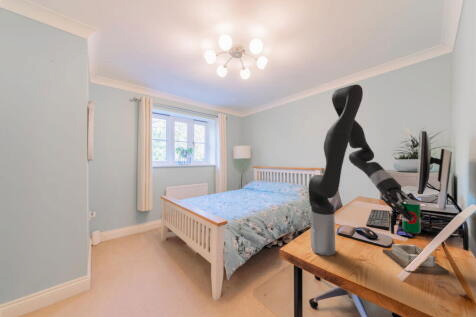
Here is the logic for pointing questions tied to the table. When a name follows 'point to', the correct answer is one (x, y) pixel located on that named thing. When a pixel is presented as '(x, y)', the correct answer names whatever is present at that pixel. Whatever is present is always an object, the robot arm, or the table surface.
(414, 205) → the soda can
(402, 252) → the holder
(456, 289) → the table surface
